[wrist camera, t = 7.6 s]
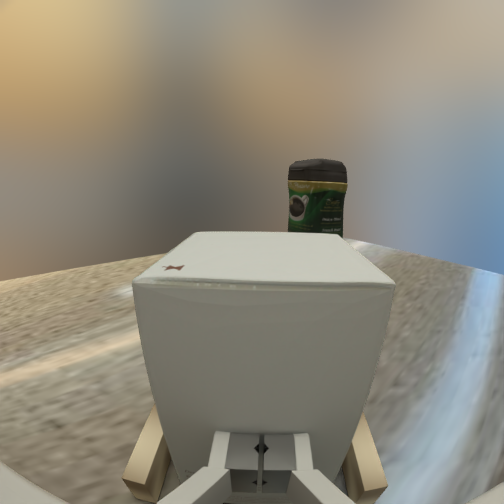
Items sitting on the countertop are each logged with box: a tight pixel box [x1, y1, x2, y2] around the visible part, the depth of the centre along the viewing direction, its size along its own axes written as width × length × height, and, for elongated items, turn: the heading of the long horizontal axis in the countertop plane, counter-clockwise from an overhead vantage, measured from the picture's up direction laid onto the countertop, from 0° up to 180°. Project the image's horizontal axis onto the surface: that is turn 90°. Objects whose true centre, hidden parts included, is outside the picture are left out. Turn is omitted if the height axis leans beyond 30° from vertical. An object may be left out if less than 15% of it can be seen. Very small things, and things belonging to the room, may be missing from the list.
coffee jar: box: [288, 159, 347, 239], centre depth 44 cm, size 10×8×19 cm
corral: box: [122, 404, 388, 504], centre depth 14 cm, size 11×12×2 cm
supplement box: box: [132, 232, 396, 504], centre depth 12 cm, size 7×7×13 cm
